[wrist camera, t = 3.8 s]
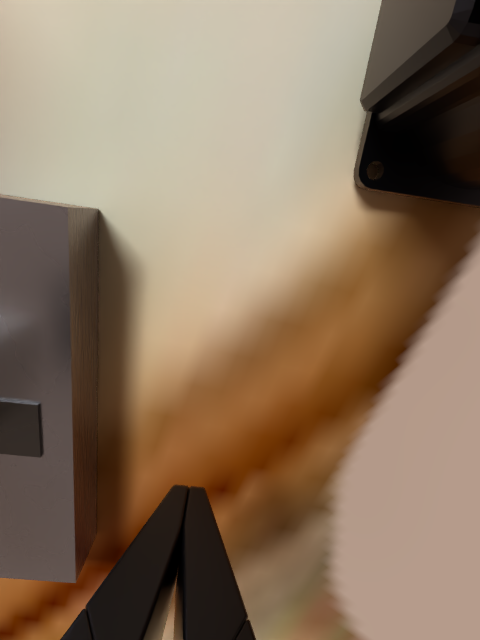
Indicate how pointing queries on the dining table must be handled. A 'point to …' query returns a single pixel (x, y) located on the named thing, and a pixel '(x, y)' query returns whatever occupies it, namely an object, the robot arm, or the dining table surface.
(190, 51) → the dining table surface
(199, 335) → the dining table surface
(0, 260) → the console
